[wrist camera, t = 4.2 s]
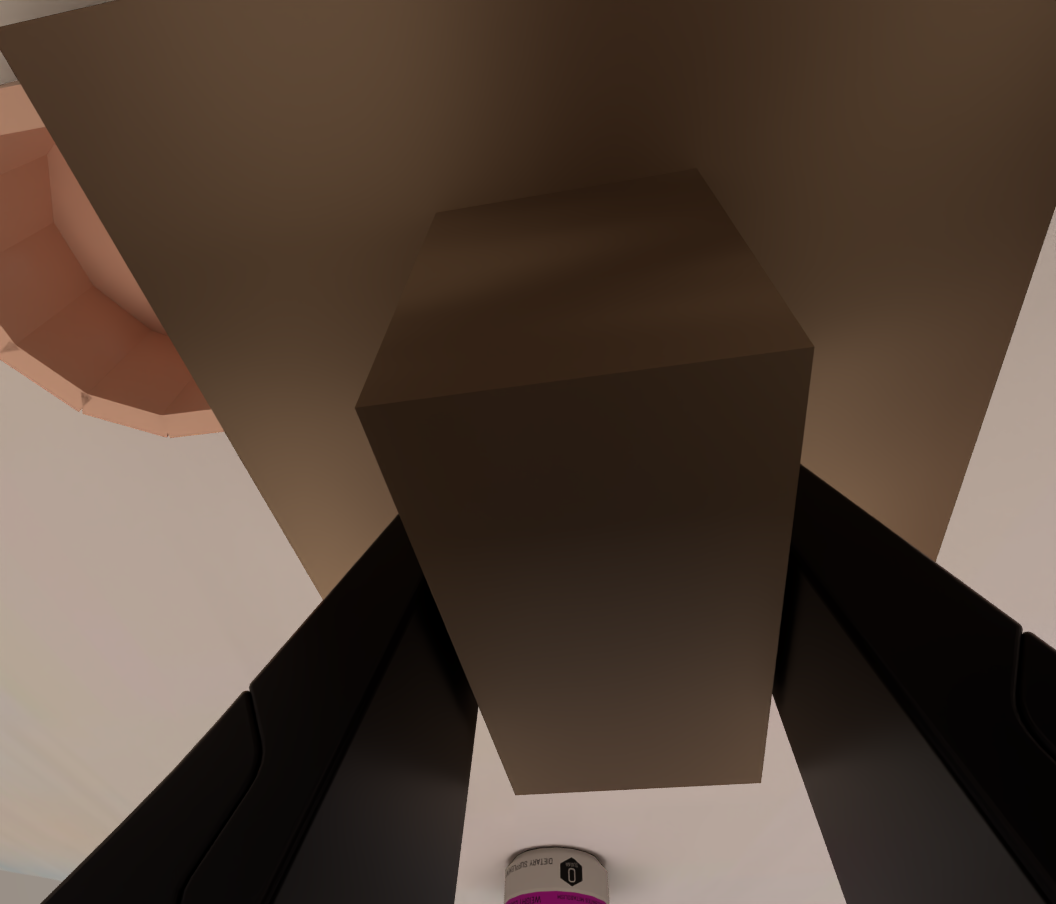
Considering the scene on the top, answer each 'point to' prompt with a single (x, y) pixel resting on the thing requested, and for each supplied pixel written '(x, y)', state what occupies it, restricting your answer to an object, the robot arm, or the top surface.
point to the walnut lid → (577, 305)
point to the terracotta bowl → (79, 295)
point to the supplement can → (556, 878)
